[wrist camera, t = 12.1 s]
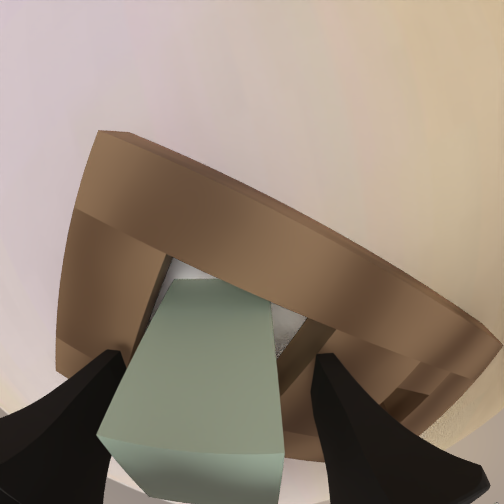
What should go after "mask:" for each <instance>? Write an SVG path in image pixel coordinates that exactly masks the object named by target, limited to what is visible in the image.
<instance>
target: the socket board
mask: <svg viewBox="0 0 504 504" xmlns="http://www.w3.org/2000/svg"><path fill="white" fill-rule="evenodd" d="M173 257H174V258H176V259H178V260H180V261H182V262H184V263H186V264H189V265H191V266H193V267H195V268H197V269H199V270H201V271H203V272H206V273H208V274H210V275H212V276H214V277H216V278H219V279H221V280H223V281H225V282H227V283H230V284H232V285H234V286H236V287H239V288H241V289H243V290H245V291H247V292H250V293H252V294H254V295H256V296H259V297H261V298H263V299H266V300H268V301H270V302H272V303H275V304H277V305H279V306H282V307H284V308H286V309H289V310H291V311H293V312H296V313H298V314H301V315H303V316H305V317H308V318H307V320H306V321H305V322H304V324H303V325H302V327H301V328H300V329H299V331H298V332H297V334H296V335H295V336H294V338H293V339H292V340H291V342H290V343H289V344H288V346H287V347H286V349H285V350H284V351H283V353H282V354H281V355H280V357H279V358H278V359H277V360H276V363H277V373H278V384H279V394H280V405H281V416H282V427H283V438H284V450H285V455H284V457H285V458H292V459H299V460H306V461H315V462H325V460H324V456H323V452H322V448H321V444H320V440H319V436H318V432H317V428H316V424H315V420H314V416H313V409H312V401H311V393H310V391H311V385H312V379H313V372H314V366H315V359H316V354H324V353H334V354H335V355H336V356H337V358H338V359H339V360H340V362H341V363H342V364H343V365H344V367H345V368H346V369H347V370H348V371H349V373H350V374H351V375H352V376H353V377H354V379H355V380H356V381H357V382H358V383H359V384H360V385H361V386H362V388H363V389H364V390H365V391H366V392H367V393H368V394H369V395H370V396H371V397H372V398H373V399H374V400H375V401H376V402H377V403H378V404H379V405H380V406H381V407H382V408H383V409H384V410H385V411H386V412H387V413H389V414H390V415H391V416H392V417H393V418H394V419H396V420H397V421H398V422H399V423H401V424H402V425H403V426H404V427H406V428H407V429H409V430H410V431H411V432H413V433H414V434H416V435H417V436H419V435H420V434H422V433H423V432H424V431H425V430H426V429H427V428H428V427H430V426H431V425H432V424H433V423H434V422H435V421H436V420H437V419H438V418H440V417H441V416H442V415H443V414H444V413H445V412H446V411H447V410H448V409H449V408H450V407H451V406H452V405H453V404H454V403H455V402H456V401H457V400H458V399H459V398H460V397H461V396H462V395H463V394H464V393H465V392H466V390H467V389H468V388H469V387H470V386H471V385H472V384H473V383H474V382H475V380H476V379H477V378H478V377H479V376H480V375H481V373H482V372H483V371H484V370H485V369H486V367H487V366H488V365H489V364H490V362H491V361H492V360H493V359H494V357H495V356H496V355H497V353H498V352H499V351H500V349H501V348H502V347H503V344H502V343H501V342H500V341H499V340H498V339H497V338H496V337H495V336H494V335H493V334H492V333H491V332H490V331H489V330H488V329H487V328H486V327H485V326H484V325H483V324H482V323H480V322H479V321H478V320H476V319H475V318H473V317H472V316H471V315H469V314H468V313H466V312H465V311H463V310H462V309H460V308H459V307H457V306H456V305H454V304H453V303H452V302H450V301H449V300H447V299H446V298H444V297H443V296H441V295H439V294H438V293H436V292H435V291H433V290H432V289H430V288H429V287H427V286H426V285H424V284H422V283H421V282H419V281H418V280H416V279H415V278H413V277H411V276H410V275H408V274H407V273H405V272H403V271H402V270H400V269H399V268H397V267H395V266H394V265H392V264H390V263H389V262H387V261H385V260H384V259H382V258H380V257H379V256H377V255H375V254H374V253H372V252H370V251H369V250H367V249H365V248H363V247H362V246H360V245H358V244H356V243H355V242H353V241H351V240H349V239H348V238H346V237H344V236H342V235H341V234H339V233H337V232H335V231H334V230H332V229H330V228H328V227H326V226H324V225H323V224H321V223H319V222H317V221H315V220H313V219H312V218H310V217H308V216H306V215H304V214H302V213H300V212H299V211H297V210H295V209H293V208H291V207H289V206H287V205H285V204H283V203H281V202H279V201H277V200H276V199H274V198H272V197H270V196H268V195H266V194H264V193H262V192H260V191H258V190H256V189H254V188H252V187H250V186H248V185H246V184H244V183H242V182H239V181H237V180H235V179H233V178H231V177H229V176H227V175H225V174H223V173H221V172H219V171H216V170H214V169H212V168H210V167H208V166H206V165H204V164H201V163H199V162H197V161H195V160H193V159H190V158H188V157H186V156H184V155H181V154H179V153H177V152H175V151H172V150H170V149H168V148H165V147H163V146H161V145H159V144H156V143H154V142H151V141H149V140H147V139H144V138H142V137H139V136H137V135H135V134H132V133H130V132H118V131H102V130H98V133H97V135H96V138H95V141H94V144H93V146H92V149H91V152H90V155H89V158H88V161H87V164H86V167H85V170H84V173H83V177H82V180H81V184H80V187H79V191H78V194H77V198H76V202H75V206H74V210H73V214H72V218H71V223H70V227H69V232H68V237H67V242H66V248H65V253H64V259H63V266H62V273H61V280H60V288H59V298H58V309H57V324H56V371H57V372H59V373H60V374H62V375H63V376H65V377H67V378H68V379H69V378H71V377H72V376H73V375H74V374H76V373H77V372H78V371H79V370H81V369H82V368H83V367H84V366H86V365H87V364H88V363H89V362H91V361H92V360H93V359H94V358H96V357H97V356H98V355H100V354H101V353H102V352H104V351H105V350H107V349H110V350H118V351H121V354H122V357H123V360H124V362H125V365H126V368H128V366H129V364H130V362H131V360H132V358H133V356H134V354H135V352H136V350H137V348H138V346H139V344H140V342H141V340H142V338H143V335H144V332H145V329H146V327H147V324H148V321H149V318H150V315H151V313H152V310H153V307H154V304H155V302H156V299H157V296H158V294H159V291H160V288H161V286H162V283H163V281H164V278H165V276H166V273H167V271H168V268H169V266H170V263H171V261H172V258H173Z"/></svg>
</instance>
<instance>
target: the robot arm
mask: <svg viewBox="0 0 504 504" xmlns="http://www.w3.org/2000/svg"><path fill="white" fill-rule="evenodd" d="M126 370H127V368H126V365H125V362H124V360H123V357H122V354H121V351H118V350H110V349H107V350H105V351H104V352H102V353H101V354H100V355H98V356H97V357H96V358H94V359H93V360H92V361H91V362H89V363H88V364H87V365H86V366H84V367H83V368H82V369H81V370H79V371H78V372H77V373H76V374H74V375H73V376H72V377H71V378H69V379H68V380H67V381H65V382H64V383H63V384H61V385H60V386H58V387H57V388H56V389H54V390H53V391H52V392H50V393H49V394H47V395H46V396H44V397H43V398H41V399H39V400H38V401H36V402H34V403H32V404H31V405H29V406H27V407H25V408H23V409H21V410H19V411H16V412H14V413H12V414H10V415H7V416H5V417H3V418H0V504H103V498H104V490H105V483H106V477H107V472H108V468H109V463H110V459H111V456H112V455H111V454H110V452H109V451H108V450H107V448H106V447H105V446H104V445H103V443H102V442H101V441H100V439H99V438H98V437H97V435H96V434H97V432H98V430H99V428H100V425H101V423H102V421H103V419H104V416H105V414H106V412H107V410H108V408H109V405H110V403H111V401H112V399H113V397H114V395H115V393H116V390H117V388H118V386H119V384H120V382H121V380H122V378H123V376H124V374H125V372H126ZM310 393H311V401H312V409H313V416H314V420H315V424H316V428H317V432H318V436H319V440H320V444H321V448H322V452H323V456H324V460H325V464H326V469H327V475H328V484H329V493H330V502H331V504H470V503H472V502H473V501H475V500H476V499H477V498H479V497H480V496H481V495H483V494H484V493H485V492H486V491H487V490H488V489H489V488H490V483H489V481H488V479H487V476H486V474H485V472H484V470H483V468H482V467H481V465H478V464H475V463H472V462H470V461H467V460H464V459H461V458H458V457H456V456H454V455H452V454H449V453H447V452H445V451H443V450H441V449H439V448H437V447H435V446H434V445H432V444H430V443H429V442H427V441H425V440H424V439H422V438H420V437H419V436H417V435H416V434H414V433H413V432H411V431H410V430H409V429H407V428H406V427H404V426H403V425H402V424H401V423H399V422H398V421H397V420H396V419H394V418H393V417H392V416H391V415H390V414H389V413H387V412H386V411H385V410H384V409H383V408H382V407H381V406H380V405H379V404H378V403H377V402H376V401H375V400H374V399H373V398H372V397H371V396H370V395H369V394H368V393H367V392H366V391H365V390H364V389H363V388H362V386H361V385H360V384H359V383H358V382H357V381H356V380H355V379H354V377H353V376H352V375H351V374H350V373H349V371H348V370H347V369H346V368H345V367H344V365H343V364H342V363H341V362H340V360H339V359H338V358H337V356H336V355H335V354H334V353H324V354H316V359H315V366H314V372H313V379H312V385H311V391H310ZM495 504H499V503H498V502H496V503H495Z"/></svg>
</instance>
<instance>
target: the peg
mask: <svg viewBox="0 0 504 504" xmlns="http://www.w3.org/2000/svg"><path fill="white" fill-rule="evenodd" d="M96 435H97V437H98V438H99V439H100V441H101V442H102V443H103V445H104V446H105V447H106V448H107V450H108V451H109V452H110V454H111V455H112V456H113V457H114V459H115V460H116V461H117V462H118V463H119V465H120V466H121V467H122V468H123V469H124V470H125V471H126V473H127V474H128V475H129V476H130V477H131V478H132V479H133V480H134V481H135V483H136V484H137V485H138V486H139V487H140V488H141V489H142V490H143V491H144V492H145V493H146V494H147V495H148V496H149V497H153V498H158V499H164V500H170V501H176V502H183V503H191V504H278V499H279V492H280V485H281V478H282V471H283V463H284V455H285V450H284V438H283V427H282V416H281V405H280V394H279V384H278V373H277V363H276V353H275V343H274V333H273V323H272V314H271V304H270V301H268V300H266V299H263V298H261V297H259V296H256V295H254V294H252V293H250V292H247V291H245V290H243V289H241V288H239V287H236V286H234V285H232V284H230V283H227V282H225V281H223V280H221V279H174V281H173V282H172V284H171V286H170V288H169V289H168V291H167V293H166V295H165V297H164V299H163V300H162V302H161V304H160V306H159V308H158V310H157V311H156V313H155V315H154V317H153V319H152V321H151V323H150V325H149V327H148V328H147V330H146V332H145V334H144V336H143V338H142V340H141V342H140V344H139V346H138V348H137V350H136V352H135V354H134V356H133V358H132V360H131V362H130V364H129V366H128V368H127V370H126V372H125V374H124V376H123V378H122V380H121V382H120V384H119V386H118V388H117V390H116V393H115V395H114V397H113V399H112V401H111V403H110V405H109V408H108V410H107V412H106V414H105V416H104V419H103V421H102V423H101V425H100V428H99V430H98V432H97V434H96Z"/></svg>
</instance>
